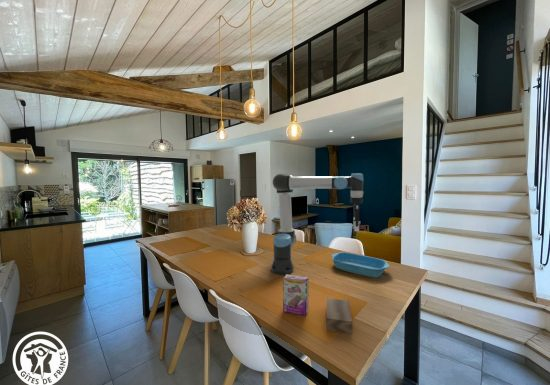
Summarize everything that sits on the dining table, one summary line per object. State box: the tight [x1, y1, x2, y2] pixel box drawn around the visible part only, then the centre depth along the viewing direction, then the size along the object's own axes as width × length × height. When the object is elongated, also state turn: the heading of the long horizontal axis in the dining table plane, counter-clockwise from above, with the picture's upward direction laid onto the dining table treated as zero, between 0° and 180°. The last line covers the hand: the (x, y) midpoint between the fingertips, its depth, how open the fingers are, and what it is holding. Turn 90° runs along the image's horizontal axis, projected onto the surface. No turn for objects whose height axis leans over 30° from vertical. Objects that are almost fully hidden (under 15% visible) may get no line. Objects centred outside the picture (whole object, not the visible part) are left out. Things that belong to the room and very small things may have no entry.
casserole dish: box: [331, 251, 390, 278], centre depth 156 cm, size 37×22×7 cm, turn 54°
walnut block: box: [325, 297, 353, 335], centre depth 101 cm, size 10×16×5 cm, turn 166°
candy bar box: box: [282, 274, 310, 317], centre depth 107 cm, size 11×5×16 cm, turn 71°
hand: (355, 228), depth 154 cm, fingers open, 13 cm apart
